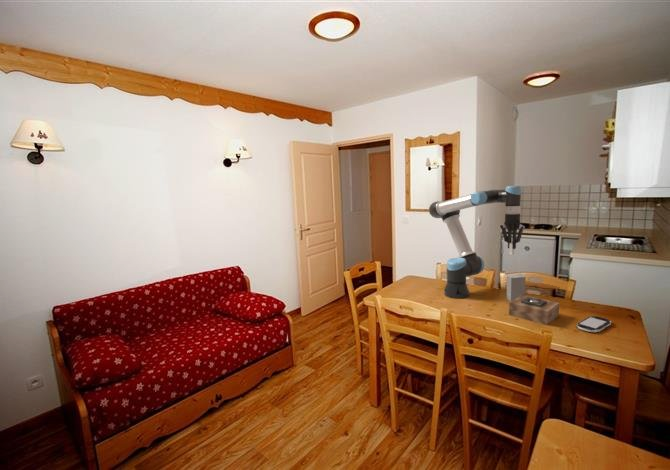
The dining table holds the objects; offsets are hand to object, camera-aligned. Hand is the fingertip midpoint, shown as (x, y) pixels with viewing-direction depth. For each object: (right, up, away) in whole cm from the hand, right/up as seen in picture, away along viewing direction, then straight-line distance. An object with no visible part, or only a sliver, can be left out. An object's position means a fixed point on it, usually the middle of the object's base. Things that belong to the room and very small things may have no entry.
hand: (511, 254), depth 183 cm
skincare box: (+6, -28, +7) cm, 30 cm away
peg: (+4, -31, -14) cm, 35 cm away
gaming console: (+23, -33, -30) cm, 50 cm away
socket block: (+4, -32, -14) cm, 35 cm away
